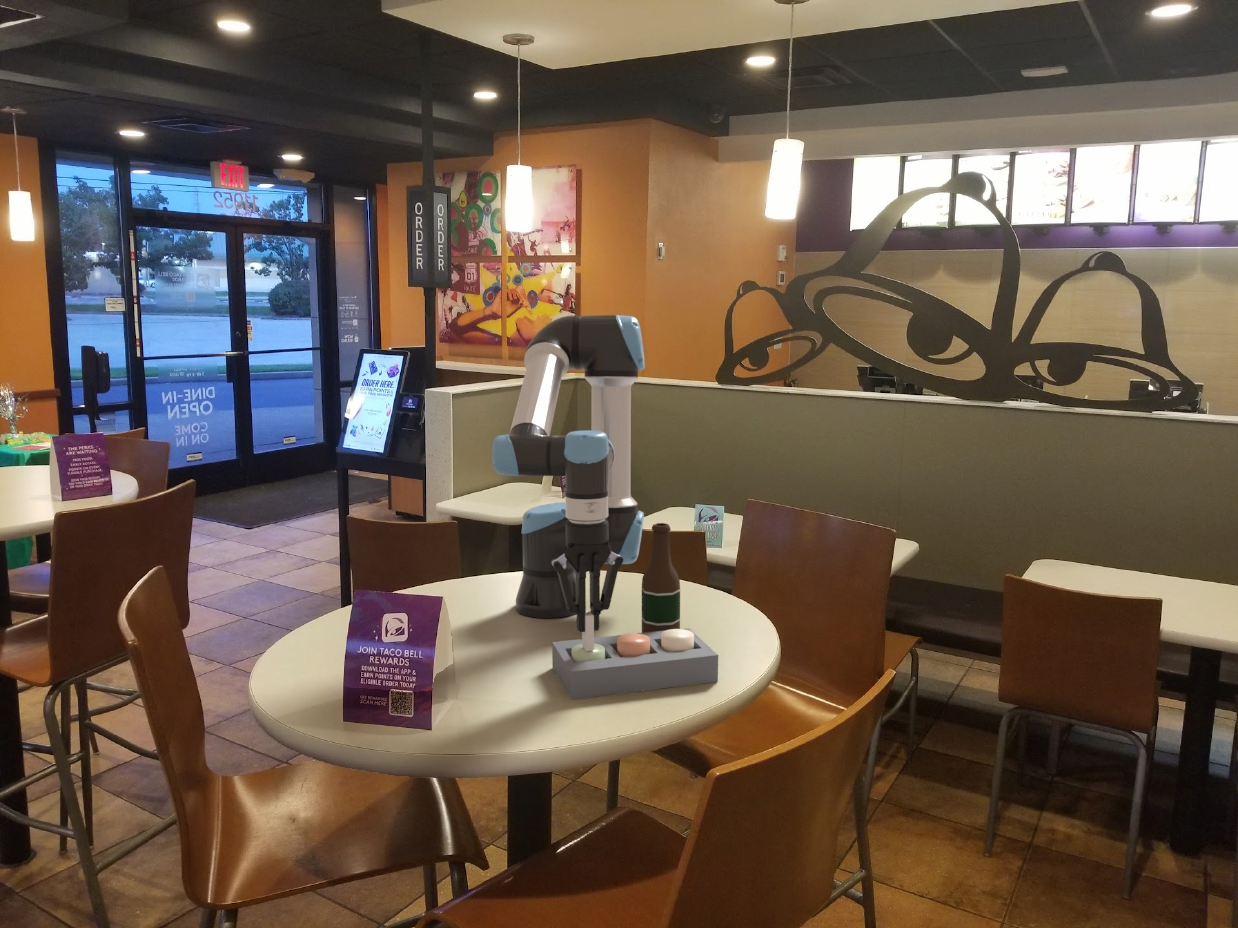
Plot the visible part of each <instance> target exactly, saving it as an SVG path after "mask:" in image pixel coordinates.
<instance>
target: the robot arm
mask: <svg viewBox="0 0 1238 928" xmlns="http://www.w3.org/2000/svg"><path fill="white" fill-rule="evenodd" d="M641 330H642V329H641V326H640V322H639V320H638V319H637V318H636V317H634V316H632V315H631V316H630V315H621V314H615V315H613V314H612V315H611V314H609V315H606V314H605V315H566V316H561V317H558V318H556V319H554V320H552V321H551V322H549V323H548V324H546V325H544V326H543V327H542V328H541V329H540V330H538V331H537V333H536V334H535V335H534V336H533V337H532V338H531V340H530V342H529V343H528V345H527V347H526V351H525V353H524V357H523V358H524V359H523V362H524V363H523V365H524V368H525V373H524V376H523V380H522V385H521V388H520V391H519V392H520V393H519V394H518V395H519V396H518V400H517V404H516V407H515V410H514V415H513V418H512V423H511V427H510V431H509V433H506V434H502V435H497V436H496V437H495V438H494V440H493V443H492V453H491V456H492V457H491V458H492V467H493V470H494V472H495V473H496V474H498V475H500V476H502V475H503V476H512V477H513V476H515V477H564V478H565V493H564V494H565V495H564V496H565V502H563V501H562V502H551V503H546V504H541V505H537V506H534V507H531V508H529V509H528V510H526V511H525V512H524V513H523V514H522V522H521V523H522V524H521V525H522V527H521V541H522V542H521V543H522V544H521V545H522V577H521V581H520V583H519V587H518V591H517V594H516V598H515V610H516V612H517V613H518V614H521V615H523V616H525V617H532V618H537V619H538V618H541V619H554V618H555V619H556V618H565V617H569V616H573V615H576V629H577V630H578V632H579V633H581V639H582V646H583V648H584V649H585V650H586V651H592V650H594V638H595V632H597V631H599V629H600V615H601V614H602V611H604V610H606V611H607V610H609V609H610V606H611V602H612V597H613V594H614V589H615V585H616V580H617V577H618V576H617V575H618V572H619V570H620V568H621V566H622V565H630V564H634V563H635V562H637V560H638V558H639V553H640V547H641V541H642V534H643V527H644V518H645V513H644V512H643V511H641V510H638V502H637V501H636V500H635V499H634V497H632V495H631V488H632V487H631V486H632V485H631V477H632V475H631V474H632V473H631V470H632V469H631V466H632V465H631V458H632V457H631V456H632V451H631V449H632V447H631V444H632V441H631V439H632V433H631V432H632V431H631V428H632V426H631V425H632V421H631V419H632V415H631V414H632V412H631V411H632V410H631V409H632V392H631V391H632V385H634V383H635V382H637V380H638V379H639V371H643V370H645V368H646V365H645V364H646V363H645V353H644V345H643V344H644V343H643V336H642V331H641ZM569 370H579V371H580V370H582V371H584V379H585V380H586V381H587V383H589V384H590V386H591V423H590V424H591V430H575V431H569V432H568V433H567V434H566V435H551V433H552V432H551V431H552V426H553V421H554V417H555V412H556V408H557V402H558V396H559V393H560V388H561V383H562V379H563V377H564V376H566V374H567V372H568V371H569ZM604 565H607V569H606V574H605V578H604V582H603V586H602V589H601V586H600V584H601V582H600V580H601V579H600V577H601V569H602V567H603V566H604ZM587 573H589V609H590V610H586V609H587V608H586V606H587V604H586V603H587V602H586V601H587V600H586V597H587V596H586V591H587V590H586V585H587V583H586V578H587ZM600 589H601V590H600ZM600 591H601V593H600Z"/></svg>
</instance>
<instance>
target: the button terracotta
mask: <svg viewBox="0 0 1238 928" xmlns="http://www.w3.org/2000/svg"><path fill="white" fill-rule="evenodd" d="M620 635H621V636H619V637H618V638H617V654H618V655H619V656H620V657H627V656H636V655H646V654H650V638H649V637H648V636H646V635H643V634H636V633H633V632H632V633H631V632H630V633H624V634H620Z"/></svg>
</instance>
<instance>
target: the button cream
mask: <svg viewBox="0 0 1238 928" xmlns="http://www.w3.org/2000/svg"><path fill="white" fill-rule="evenodd" d="M684 629H685V628H680V629H670V630H666V631H664V632H662V633H661V648H662V649H663V650H664V651H665V652H673V651H682V650H691V649H694V634H693V633H692V632H691V631H692V630H691V631H688V630H684Z"/></svg>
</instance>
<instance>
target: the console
mask: <svg viewBox="0 0 1238 928" xmlns="http://www.w3.org/2000/svg"><path fill="white" fill-rule="evenodd" d="M683 629H684V630H688V631H691V632H692V633H693V634H694V649H691V650H682V651H673V652H665V651H664V650H663V649H662V648H661V633H662V632H664V631H656V632H646V633H642V632H639V633H636V634H643V635H646V636H648V637H649V638H650V654H646V655H636V656H627V657H620V656H619V655H618V654H617V638H618V637H619V636H621V635H622V634H619V635H607V636H599V637H594V644H599V645H602V646H604V648H605V659H600V660H591V661H582V662H573V660H572V647H574V646H575V645H578V644H582V638H581V639H579V638H577V639H570V640H560V641H553V642H551V647H552V649H551V653H552V654H551V655H552V656H551V658H552V662H551V664H552V669H553V671H554V673H555V674H556V676H557V678H558V680H559V679H560V680H559V681H560V683H561V685H562V686H563V688H564V690H565V691H566V694H567V695H568V696H569V698H570V699H571V700H575V699H576V700H577V699H578V700H579V699H585V698H587V699H588V698H592V697H594V696H595V697H600V696H601V697H602V696H603V697H604V696H612V695H618V694H619V693H620V694H626V692H628V693H635V692H642V690H645V691H650V690H659V689H660V690H661V689H667V688H676V687H684V686H685V687H686V686H693V685H702V684H710V683H717V682H719V654H718V653H717V652H716V651H714V650H713V649H712V648H711V647H710V646H709V645H708V644H707V643H706V642H705V641H704V640H702V639H701V637H699V636H698V635H697V634H696V633H695V632H694V631H693V630H691V629H690V628H689V627H687V628H683ZM665 631H666V630H665ZM620 694H619V695H620Z"/></svg>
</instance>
